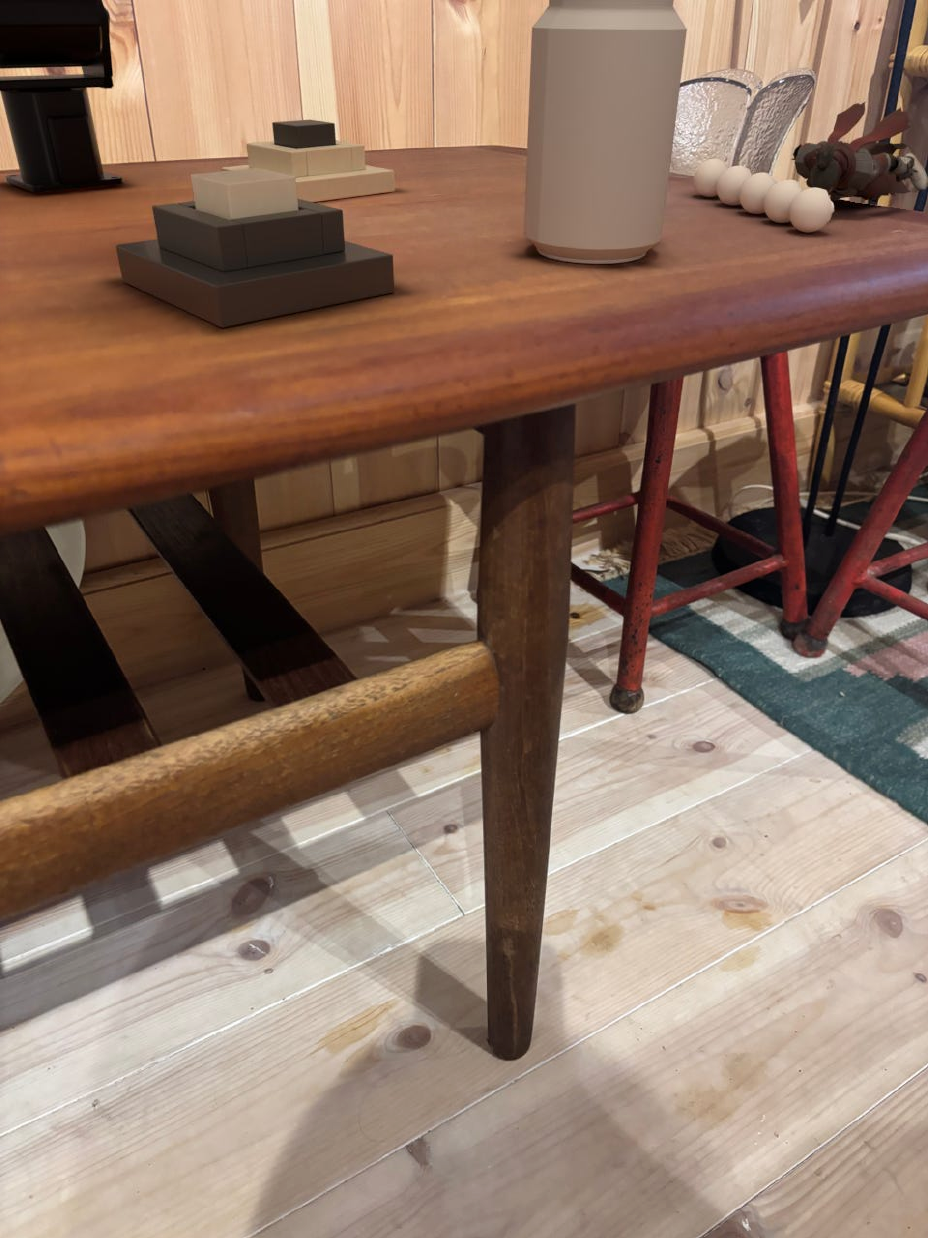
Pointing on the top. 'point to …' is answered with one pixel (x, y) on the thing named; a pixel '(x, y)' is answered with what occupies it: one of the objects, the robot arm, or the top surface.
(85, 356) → the top surface
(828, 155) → the action figure
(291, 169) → the beige stepped base
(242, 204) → the beige square block
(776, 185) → the spheres
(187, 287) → the dark grey stepped block
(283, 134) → the black key
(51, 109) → the robot arm
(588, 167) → the can
